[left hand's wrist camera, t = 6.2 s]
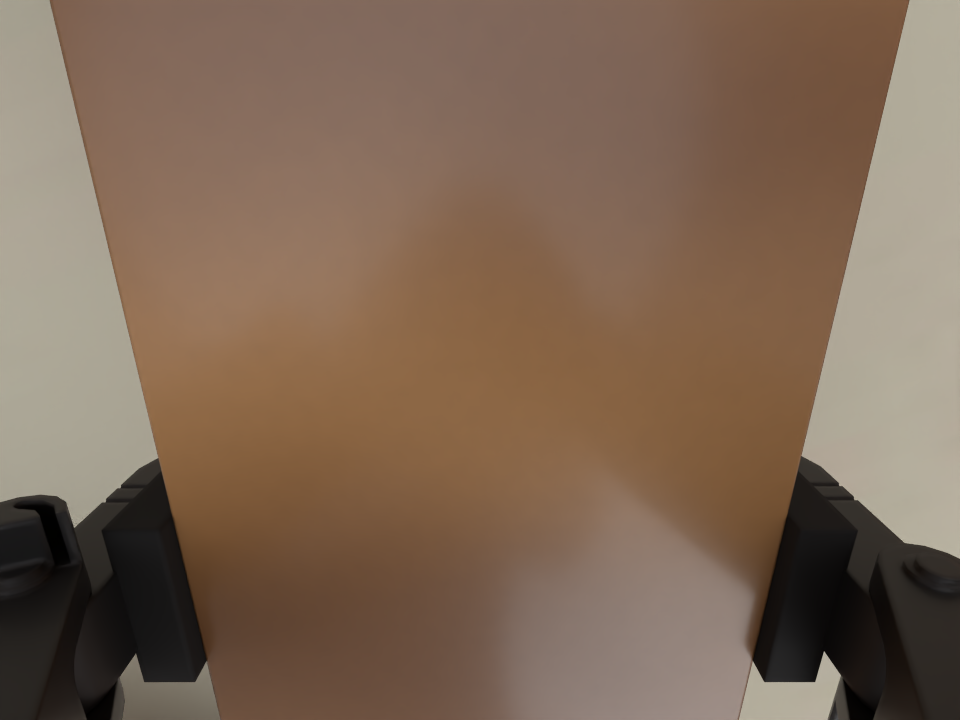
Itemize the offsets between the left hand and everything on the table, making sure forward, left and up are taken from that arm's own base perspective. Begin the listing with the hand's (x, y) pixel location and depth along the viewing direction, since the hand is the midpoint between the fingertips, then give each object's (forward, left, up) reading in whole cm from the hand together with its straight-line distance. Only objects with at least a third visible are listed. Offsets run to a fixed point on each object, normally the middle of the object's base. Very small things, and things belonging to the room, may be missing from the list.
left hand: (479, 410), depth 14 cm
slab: (+34, 0, -1) cm, 34 cm away
